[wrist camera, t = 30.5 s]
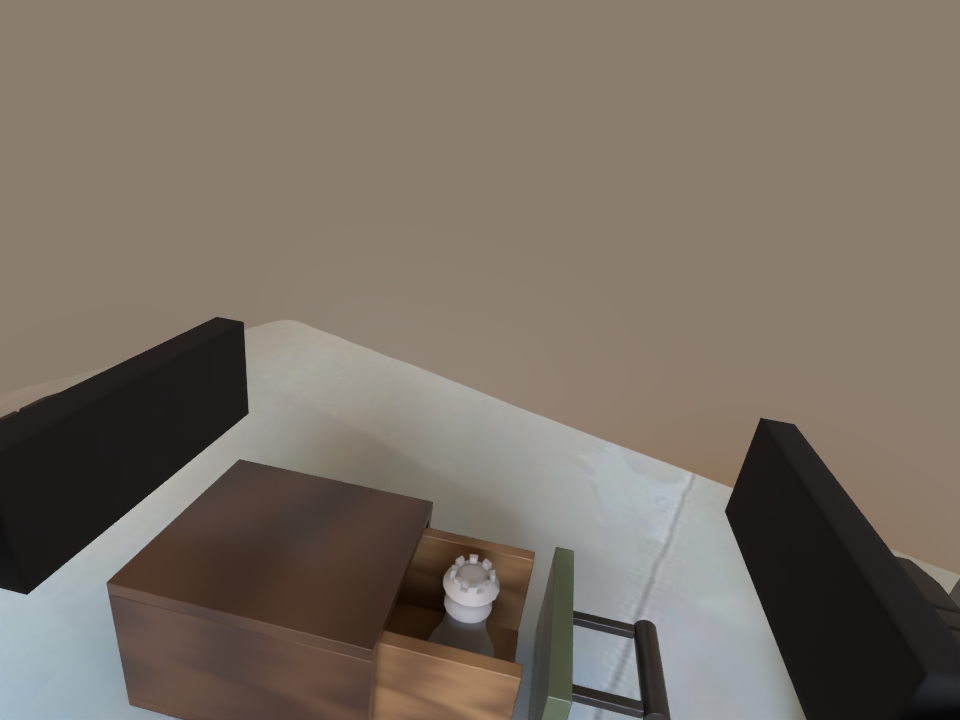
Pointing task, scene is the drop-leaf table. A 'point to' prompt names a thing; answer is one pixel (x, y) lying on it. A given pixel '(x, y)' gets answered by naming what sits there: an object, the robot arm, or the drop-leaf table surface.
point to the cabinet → (266, 598)
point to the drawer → (498, 645)
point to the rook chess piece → (467, 606)
